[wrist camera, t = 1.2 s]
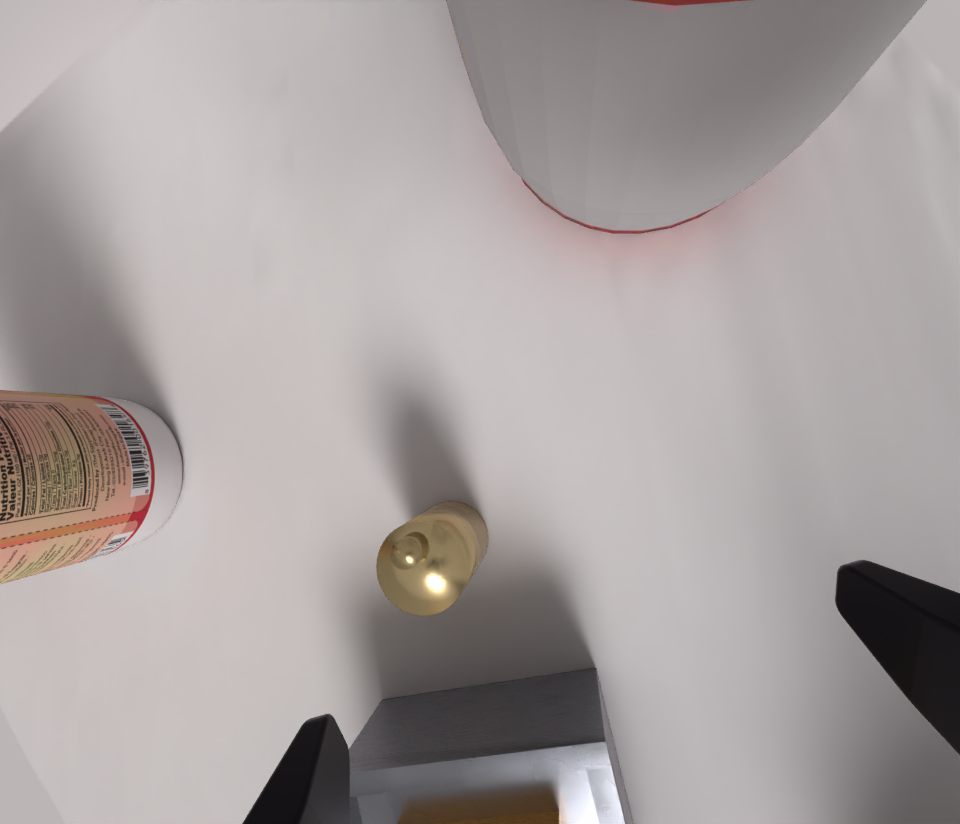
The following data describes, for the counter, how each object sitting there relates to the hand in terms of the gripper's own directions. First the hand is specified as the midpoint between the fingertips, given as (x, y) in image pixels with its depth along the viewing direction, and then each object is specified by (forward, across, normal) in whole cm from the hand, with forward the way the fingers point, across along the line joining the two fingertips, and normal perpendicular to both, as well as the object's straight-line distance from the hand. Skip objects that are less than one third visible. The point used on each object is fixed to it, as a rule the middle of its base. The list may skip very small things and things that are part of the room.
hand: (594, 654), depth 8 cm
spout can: (+17, +3, +9) cm, 19 cm away
